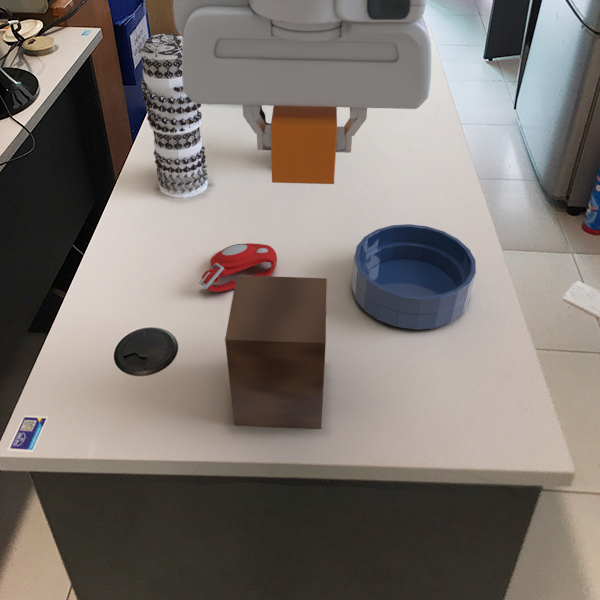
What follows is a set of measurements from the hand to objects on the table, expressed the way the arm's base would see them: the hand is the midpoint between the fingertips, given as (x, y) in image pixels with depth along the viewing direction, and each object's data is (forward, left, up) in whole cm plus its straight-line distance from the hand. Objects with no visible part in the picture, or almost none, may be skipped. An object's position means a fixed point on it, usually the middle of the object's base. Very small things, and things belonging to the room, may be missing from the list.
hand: (304, 148), depth 56 cm
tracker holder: (+19, -13, -31) cm, 38 cm away
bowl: (-5, -22, -31) cm, 38 cm away
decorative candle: (+40, -29, -31) cm, 58 cm away
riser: (+1, +3, -31) cm, 31 cm away
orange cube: (0, 0, -2) cm, 2 cm away
